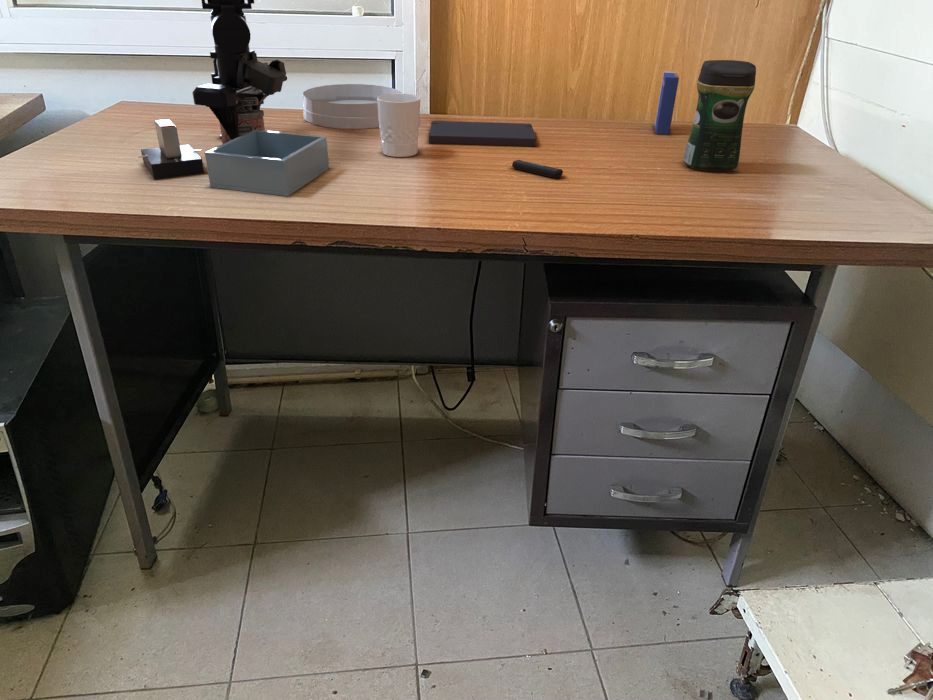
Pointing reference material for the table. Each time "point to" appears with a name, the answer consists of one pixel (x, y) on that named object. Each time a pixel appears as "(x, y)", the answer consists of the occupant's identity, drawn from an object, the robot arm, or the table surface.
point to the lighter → (246, 118)
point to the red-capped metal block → (168, 138)
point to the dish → (344, 105)
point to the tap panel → (172, 163)
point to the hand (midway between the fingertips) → (243, 137)
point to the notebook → (482, 133)
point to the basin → (267, 162)
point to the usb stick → (537, 168)
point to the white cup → (399, 123)
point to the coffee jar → (719, 115)
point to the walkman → (666, 102)
